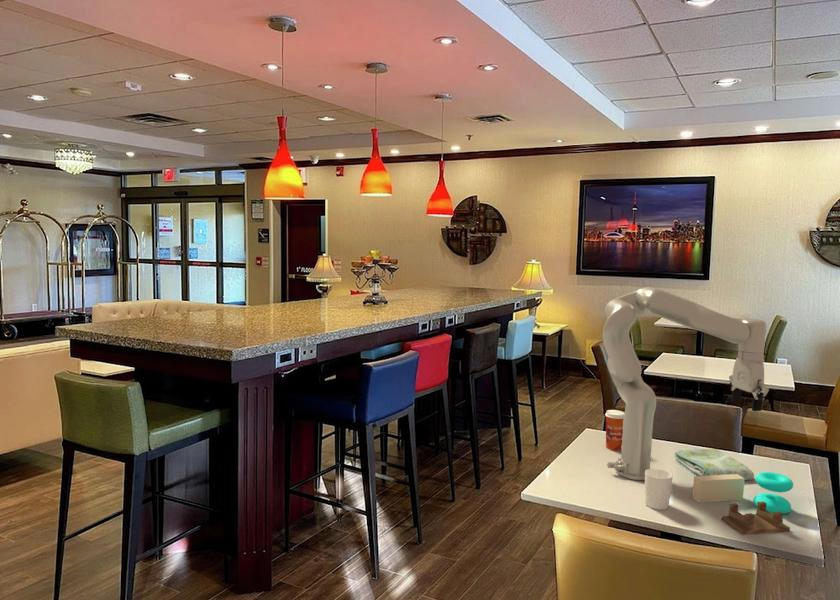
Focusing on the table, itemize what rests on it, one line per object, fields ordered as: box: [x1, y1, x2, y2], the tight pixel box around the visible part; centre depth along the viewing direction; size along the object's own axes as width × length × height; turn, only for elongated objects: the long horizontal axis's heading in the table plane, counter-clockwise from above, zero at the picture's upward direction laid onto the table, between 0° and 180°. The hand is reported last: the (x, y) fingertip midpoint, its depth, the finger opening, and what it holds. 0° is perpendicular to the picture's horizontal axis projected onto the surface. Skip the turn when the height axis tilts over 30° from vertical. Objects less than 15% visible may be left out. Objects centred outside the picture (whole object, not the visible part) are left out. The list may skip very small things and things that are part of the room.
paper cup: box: [605, 409, 625, 451], centre depth 241 cm, size 8×8×14 cm
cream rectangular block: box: [692, 474, 746, 503], centre depth 197 cm, size 15×4×7 cm, turn 100°
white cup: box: [644, 468, 674, 511], centre depth 191 cm, size 8×8×10 cm
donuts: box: [753, 471, 794, 515], centre depth 191 cm, size 10×10×10 cm
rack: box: [720, 502, 791, 535], centre depth 180 cm, size 15×9×5 cm, turn 100°
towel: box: [674, 448, 755, 481], centre depth 221 cm, size 18×21×5 cm
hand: (746, 406), depth 211 cm, fingers open, 9 cm apart
